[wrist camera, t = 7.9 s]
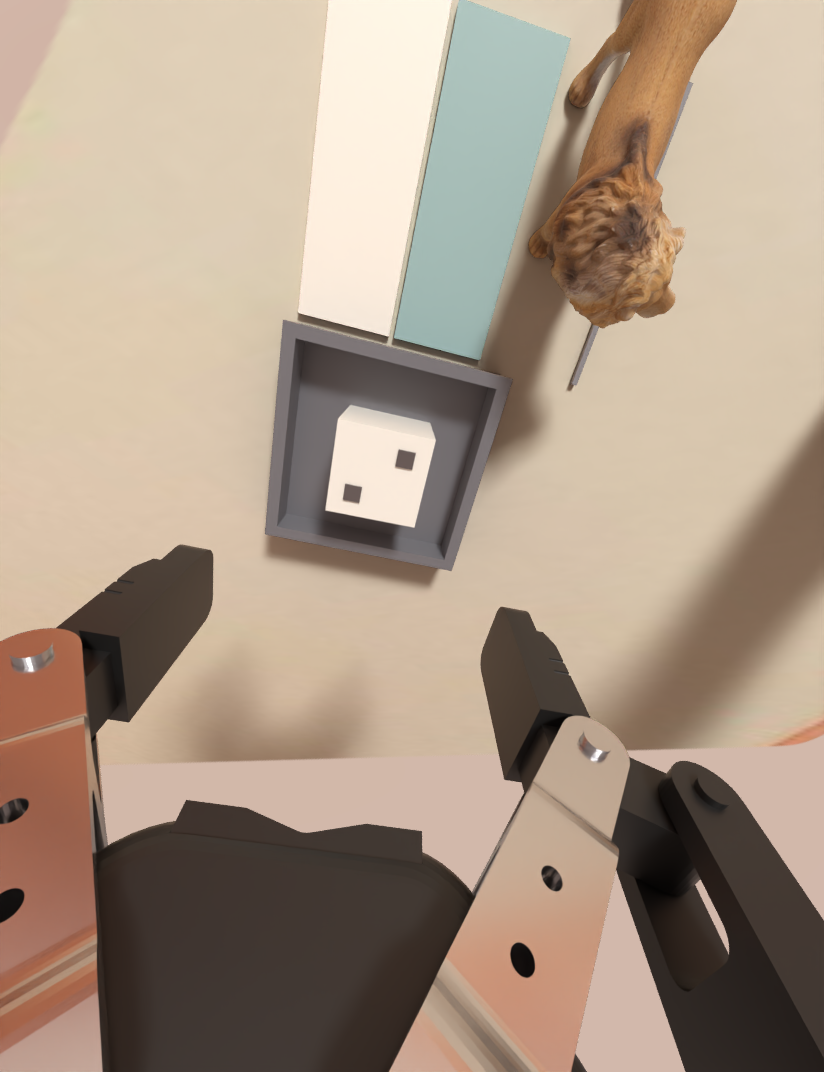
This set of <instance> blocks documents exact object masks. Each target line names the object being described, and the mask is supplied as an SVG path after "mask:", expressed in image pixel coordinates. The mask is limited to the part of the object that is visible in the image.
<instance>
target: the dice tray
mask: <svg viewBox="0 0 824 1072" xmlns="http://www.w3.org/2000/svg"><path fill="white" fill-rule="evenodd" d="M512 381H513V379H511V378H508V377H505V376H502V375H498V374H494V373H490V372H486V371H482V370H479V369H475V368H471V367H467V366H463V365H459V364H455V363H451V362H448V361H444V360H440V359H436V358H432V357H428V356H424V355H420V354H417V353H413V352H409V351H405V350H401V349H397V348H393V347H389V346H386V345H382V344H378V343H374V342H370V341H366V340H362V339H358V338H355V337H351V336H347V335H343V334H339V333H335V332H331V331H327V330H324V329H320V328H316V327H312V326H308V325H304V324H300V323H296V322H291V321H287V320H283V327H282V339H281V350H280V362H279V374H278V386H277V398H276V410H275V421H274V433H273V445H272V457H271V469H270V480H269V492H268V504H267V516H266V528H265V534H266V535H271V536H276V537H282V538H287V539H292V540H297V541H302V542H307V543H312V544H317V545H322V546H327V547H332V548H337V549H342V550H348V551H353V552H358V553H363V554H368V555H373V556H378V557H383V558H388V559H393V560H398V561H403V562H408V563H414V564H419V565H424V566H429V567H434V568H439V569H444V570H449V571H452V568H453V565H454V562H455V559H456V556H457V552H458V549H459V546H460V543H461V540H462V537H463V534H464V531H465V527H466V524H467V521H468V518H469V515H470V512H471V509H472V506H473V502H474V499H475V496H476V493H477V490H478V487H479V484H480V481H481V477H482V474H483V471H484V468H485V465H486V462H487V459H488V456H489V453H490V449H491V446H492V443H493V440H494V437H495V434H496V431H497V428H498V424H499V421H500V418H501V415H502V412H503V409H504V406H505V403H506V399H507V396H508V393H509V390H510V387H511V384H512ZM350 405H353V406H358V407H362V408H367V409H371V410H375V411H380V412H384V413H389V414H393V415H398V416H402V417H407V418H411V419H415V420H420V421H424V422H429V423H430V424H431V427H432V430H433V433H434V436H435V439H436V442H435V446H434V450H433V454H432V458H431V462H430V466H429V470H428V474H427V478H426V482H425V486H424V490H423V495H422V499H421V503H420V507H419V511H418V515H417V519H416V523H415V527H414V528H413V527H408V526H403V525H398V524H393V523H388V522H383V521H378V520H373V519H367V518H362V517H357V516H352V515H347V514H342V513H337V512H332V511H326V510H325V509H326V502H327V495H328V488H329V480H330V473H331V466H332V459H333V451H334V444H335V437H336V430H337V422H338V418H339V417H340V416H341V415H342V414H343V413H344V411H345V410H346V409H347V408H348V407H349V406H350Z"/></svg>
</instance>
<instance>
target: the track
mask: <svg viewBox="0 0 824 1072" xmlns="http://www.w3.org/2000/svg"><path fill="white" fill-rule="evenodd" d="M451 4H452V0H329V2H328V12H327V22H326V32H325V43H324V53H323V63H322V73H321V83H320V94H319V104H318V114H317V124H316V134H315V145H314V155H313V165H312V175H311V185H310V196H309V206H308V216H307V226H306V236H305V247H304V257H303V267H302V277H301V287H300V298H299V308H298V313H300V314H304V315H308V316H312V317H315V318H319V319H323V320H327V321H331V322H335V323H338V324H342V325H346V326H350V327H354V328H358V329H361V330H365V331H369V332H373V333H377V334H381V335H384V336H388V337H389V334H390V329H391V323H392V318H393V313H394V307H395V302H396V297H397V291H398V286H399V281H400V275H401V270H402V265H403V259H404V254H405V249H406V243H407V238H408V233H409V228H410V222H411V217H412V212H413V206H414V201H415V196H416V190H417V185H418V180H419V174H420V169H421V164H422V158H423V153H424V148H425V142H426V137H427V132H428V126H429V121H430V116H431V110H432V105H433V100H434V94H435V89H436V84H437V78H438V73H439V68H440V62H441V57H442V52H443V47H444V41H445V36H446V31H447V25H448V20H449V15H450V9H451ZM570 39H571V38H568V37H566V36H563V35H560V34H557V33H555V32H552V31H549V30H546V29H544V28H541V27H538V26H535V25H533V24H530V23H527V22H525V21H522V20H519V19H516V18H514V17H511V16H508V15H505V14H503V13H500V12H497V11H494V10H492V9H489V8H486V7H484V6H481V5H478V4H475V3H473V2H470V1H467V0H459V3H458V8H457V13H456V18H455V24H454V29H453V34H452V39H451V44H450V50H449V55H448V60H447V65H446V70H445V75H444V81H443V86H442V91H441V96H440V101H439V107H438V112H437V117H436V122H435V127H434V133H433V138H432V143H431V148H430V153H429V158H428V164H427V169H426V174H425V179H424V184H423V190H422V195H421V200H420V205H419V210H418V216H417V221H416V226H415V231H414V236H413V241H412V247H411V252H410V257H409V262H408V267H407V273H406V278H405V283H404V288H403V293H402V299H401V304H400V309H399V314H398V319H397V324H396V330H395V335H394V338H396V339H400V340H404V341H407V342H411V343H415V344H419V345H423V346H427V347H430V348H434V349H438V350H442V351H446V352H450V353H453V354H457V355H461V356H465V357H469V358H473V359H476V360H480V358H481V355H482V351H483V348H484V344H485V341H486V337H487V334H488V330H489V326H490V323H491V319H492V316H493V312H494V309H495V305H496V302H497V298H498V295H499V291H500V287H501V284H502V280H503V277H504V273H505V270H506V266H507V263H508V259H509V255H510V252H511V248H512V245H513V241H514V238H515V234H516V231H517V227H518V224H519V220H520V216H521V213H522V209H523V206H524V202H525V199H526V195H527V192H528V188H529V184H530V181H531V177H532V174H533V170H534V167H535V163H536V160H537V156H538V153H539V149H540V145H541V142H542V138H543V135H544V131H545V128H546V124H547V121H548V117H549V114H550V110H551V106H552V103H553V99H554V96H555V92H556V89H557V85H558V82H559V78H560V74H561V71H562V67H563V64H564V60H565V57H566V53H567V50H568V46H569V43H570ZM692 85H693V83H691V82H688V85H687V87H686V90H685V93H684V96H683V99H682V102H681V105H680V109H679V112H678V116H677V119H676V122H675V125H674V128H673V131H672V133H671V136H670V139H669V142H668V144H667V147H666V150H665V152H664V154H663V156H662V159H661V161H660V163H659V165H658V167H657V169H656V171H655V174H654V179H656V178H657V175H658V173H659V170H660V168H661V165H662V162H663V160H664V157H665V155H666V152H667V149H668V147H669V144H670V142H671V139H672V137H673V134H674V131H675V129H676V126H677V124H678V121H679V118H680V116H681V113H682V111H683V108H684V105H685V103H686V100H687V98H688V95H689V93H690V90H691V87H692ZM598 328H599V327H598V326H595V325H593V324H592V327H591V330H590V332H589V335H588V338H587V340H586V343H585V345H584V348H583V351H582V353H581V356H580V359H579V361H578V364H577V367H576V369H575V372H574V375H573V377H572V380H571V382H570V384H572V385H577V383H578V380H579V377H580V375H581V372H582V370H583V367H584V364H585V362H586V359H587V357H588V354H589V351H590V349H591V346H592V344H593V341H594V339H595V336H596V333H597V331H598Z"/></svg>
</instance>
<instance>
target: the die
mask: <svg viewBox="0 0 824 1072" xmlns="http://www.w3.org/2000/svg"><path fill="white" fill-rule="evenodd" d="M435 442H436V439H435V436H434V433H433V430H432V427H431V424H430V423H429V422H424V421H420V420H415V419H411V418H407V417H402V416H398V415H393V414H389V413H384V412H380V411H375V410H371V409H367V408H362V407H358V406H353V405H350V406H349V407H348V408H347V409H346V410H345V411H344V413H343V414H342V415H341V416H340V417H339V418H338V422H337V430H336V437H335V444H334V451H333V459H332V466H331V473H330V480H329V488H328V495H327V502H326V509H325V510H326V511H332V512H337V513H342V514H347V515H352V516H357V517H362V518H367V519H373V520H378V521H383V522H388V523H393V524H398V525H403V526H408V527H413V528H414V527H415V523H416V519H417V515H418V511H419V507H420V503H421V499H422V495H423V490H424V486H425V482H426V478H427V474H428V470H429V466H430V462H431V458H432V454H433V450H434V446H435Z"/></svg>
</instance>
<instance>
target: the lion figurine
mask: <svg viewBox="0 0 824 1072" xmlns="http://www.w3.org/2000/svg"><path fill="white" fill-rule="evenodd" d="M736 2H737V0H634V1H633V3H632V4H631V6H630V7H629V9H628V11H627V12H626V14H625V16H624V18H623V20H622V21H621V23H620V24H619V26H618V28H617V29H616V31H615V32H614V33H613V34H612V35H611V36H610V37H609V38H608V39H607V40H606V42H605V43H604V45H603V46H602V48H601V49H600V50H599V52H598V53H597V55H596V56H595V57H594V59H593V60H592V61H591V62H590V63H589V64H588V65H587V66H586V67H585V68H584V69H583V70H582V71H581V72H580V73H579V74H578V75H577V76H576V78H575V79H574V80H573V82H572V84H571V86H570V88H569V99H570V102H571V104H573V105H575V106H577V107H579V108H582V107H584V106H586V105H587V104H588V103H589V102H590V100H591V99H592V97H593V95H594V93H595V91H596V89H597V86H598V84H599V82H600V80H601V78H602V76H603V74H604V73H605V71H606V70H607V68H608V67H609V65H610V64H611V63H612V62H613V61H614V60H615V59H616V58H617V57H618V56H619V55H623V54H626V53H627V52H629V51H630V56H629V58H628V60H627V62H626V64H625V66H624V68H623V70H622V72H621V73H620V75H619V77H618V78H617V80H616V81H615V83H614V85H613V86H612V88H611V90H610V92H609V93H608V95H607V97H606V99H605V101H604V102H603V104H602V106H601V108H600V110H599V113H598V115H597V118H596V120H595V123H594V125H593V128H592V130H591V133H590V136H589V139H588V141H587V144H586V147H585V149H584V153H583V156H582V160H581V163H580V167H579V171H578V176H577V182H576V183H575V184H574V185H573V186H572V187H571V188H570V190H569V191H568V192H567V194H566V195H565V196H564V198H563V200H562V201H561V203H560V204H559V206H558V207H557V208H556V209H555V211H554V212H553V213H552V214H551V216H550V218H549V219H548V220H547V222H546V223H545V224H544V225H543V226H542V227H541V228H540V229H539V230H538V231H536V232H535V233H534V235H533V236H532V237H531V238H530V241H529V245H528V246H529V250H530V253H531V254H532V255H533V256H534V257H535V258H545V257H546V255H547V254H548V256H549V258H550V260H552V261H553V265H552V268H551V275H552V277H553V278H554V279H555V280H556V282H557V283H558V285H559V287H560V288H561V289H562V290H563V291H564V293H565V295H566V297H567V298H569V299H570V303H571V304H572V305H573V306H574V309H575V311H579V314H581V315H583V316H585V317H586V318H587V319H588V320H590V322H591V323H592V324H593V325H595V326H598V327H600V328H605V327H606V326H608V325H611V324H615V323H618V322H620V321H628V320H629V319H631V318H632V317H633V315H634V314H635V312H636V313H637V314H639V315H640V316H641V317H643V318H649V317H653V316H656V315H658V314H664V313H666V312H667V311H668V310H669V309H670V308H671V307H672V306H673V305H674V303H675V294H674V293H673V291H672V290H671V289H670V286H669V283H670V281H671V276H672V273H673V268H672V266H673V264H674V262H675V259H676V255H677V254H678V252H679V251H680V250H681V249H682V247H683V243H684V241H683V239H684V237H685V232H686V229H685V228H683V227H679V228H672V225H671V221H670V220H669V219H668V218H667V216H666V215H665V214H664V213H663V211H662V202H661V200H660V197H661V195H662V192H663V188H662V186H661V185H660V183H659V182H658V181H657V180H656V179H654V174H655V171H656V169H657V167H658V165H659V163H660V161H661V159H662V156H663V154H664V152H665V150H666V147H667V144H668V142H669V139H670V136H671V133H672V131H673V128H674V125H675V122H676V119H677V116H678V112H679V109H680V105H681V102H682V99H683V96H684V93H685V90H686V87H687V85H688V82H689V80H690V77H691V75H692V73H693V70H694V68H695V66H696V64H697V62H698V61H699V59H700V57H701V55H702V54H703V52H704V51H705V49H706V48H707V47H708V46H709V44H710V43H711V42H712V41H713V40H714V39H715V37H716V36H717V35H718V34H719V32H720V31H721V30H722V28H723V27H724V25H725V24H726V22H727V20H728V19H729V17H730V16H731V13H732V11H733V9H734V7H735V4H736Z"/></svg>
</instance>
